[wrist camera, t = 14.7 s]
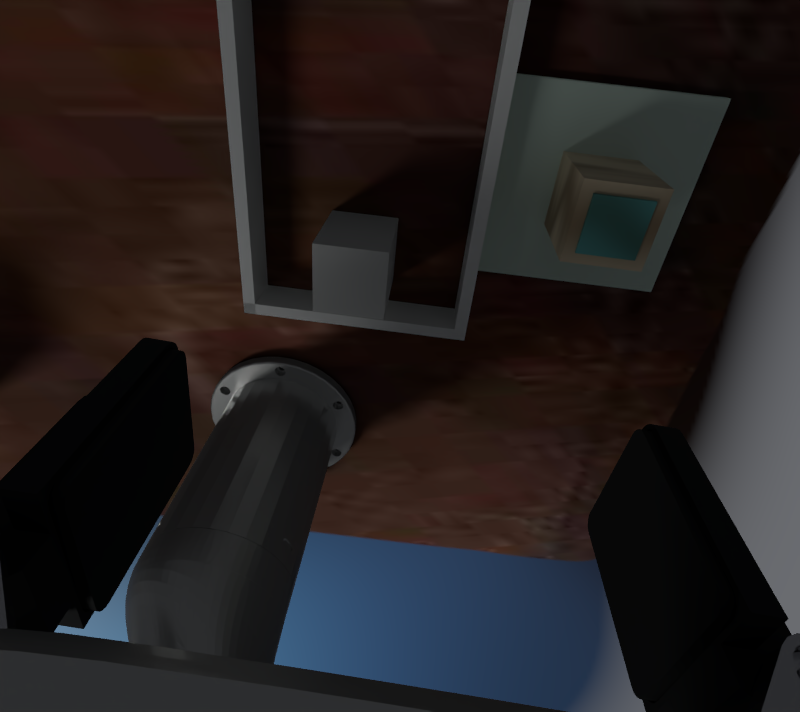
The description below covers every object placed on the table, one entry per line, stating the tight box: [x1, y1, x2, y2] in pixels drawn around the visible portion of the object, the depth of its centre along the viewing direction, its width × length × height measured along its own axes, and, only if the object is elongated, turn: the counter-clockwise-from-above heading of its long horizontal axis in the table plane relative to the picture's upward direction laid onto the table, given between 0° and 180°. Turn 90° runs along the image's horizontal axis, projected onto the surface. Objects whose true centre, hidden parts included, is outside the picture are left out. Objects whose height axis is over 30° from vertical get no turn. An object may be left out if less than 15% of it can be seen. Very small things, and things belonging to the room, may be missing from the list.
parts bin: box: [216, 0, 531, 341], centre depth 31 cm, size 21×16×3 cm
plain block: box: [312, 210, 399, 320], centre depth 33 cm, size 4×4×6 cm
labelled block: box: [544, 151, 674, 272], centre depth 29 cm, size 4×4×6 cm
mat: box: [478, 73, 731, 292], centre depth 32 cm, size 12×12×1 cm
